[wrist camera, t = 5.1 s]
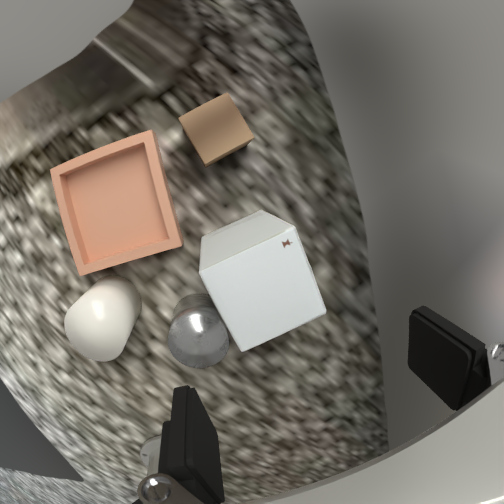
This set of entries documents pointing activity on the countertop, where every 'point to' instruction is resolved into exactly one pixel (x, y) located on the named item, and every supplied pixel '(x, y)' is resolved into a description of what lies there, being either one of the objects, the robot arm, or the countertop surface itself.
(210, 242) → the supplement box
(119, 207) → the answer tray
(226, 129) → the walnut block
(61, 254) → the countertop surface
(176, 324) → the grey tin
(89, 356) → the white rounded lump
